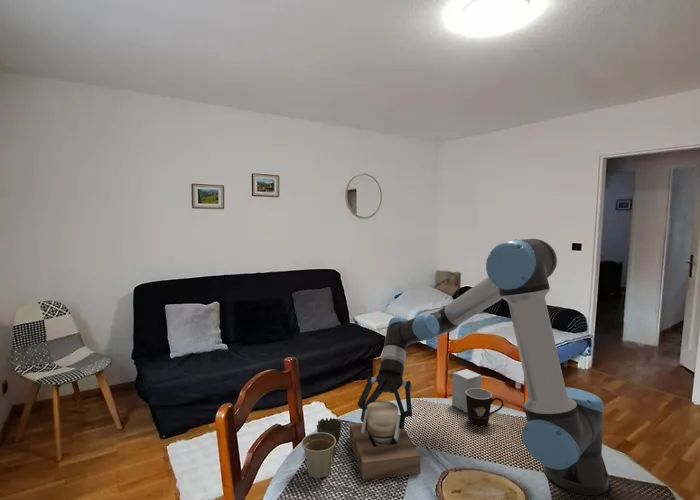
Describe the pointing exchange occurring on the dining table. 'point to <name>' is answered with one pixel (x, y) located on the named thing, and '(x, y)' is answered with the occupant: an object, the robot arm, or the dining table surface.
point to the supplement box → (463, 387)
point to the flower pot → (319, 453)
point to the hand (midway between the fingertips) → (379, 436)
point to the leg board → (384, 455)
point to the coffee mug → (479, 406)
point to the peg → (382, 422)
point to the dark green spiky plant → (330, 428)
